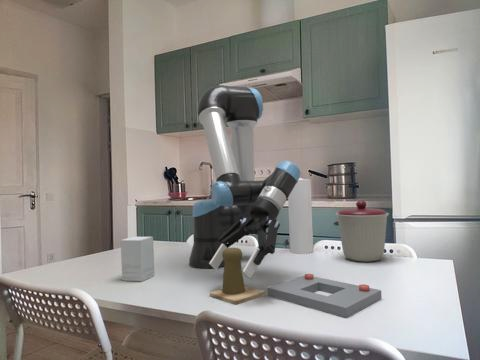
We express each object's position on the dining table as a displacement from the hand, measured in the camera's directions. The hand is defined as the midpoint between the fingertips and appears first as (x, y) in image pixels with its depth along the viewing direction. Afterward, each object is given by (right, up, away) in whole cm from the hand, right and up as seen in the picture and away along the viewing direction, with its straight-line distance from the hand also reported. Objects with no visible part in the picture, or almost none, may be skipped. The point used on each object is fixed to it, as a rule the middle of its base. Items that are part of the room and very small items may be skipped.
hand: (228, 270), depth 88 cm
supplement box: (-29, -8, +22) cm, 37 cm away
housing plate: (+23, -6, -2) cm, 24 cm away
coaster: (+2, -7, +2) cm, 7 cm away
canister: (+47, -6, +38) cm, 61 cm away
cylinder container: (+28, -7, +56) cm, 63 cm away
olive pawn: (+1, -6, +3) cm, 7 cm away
